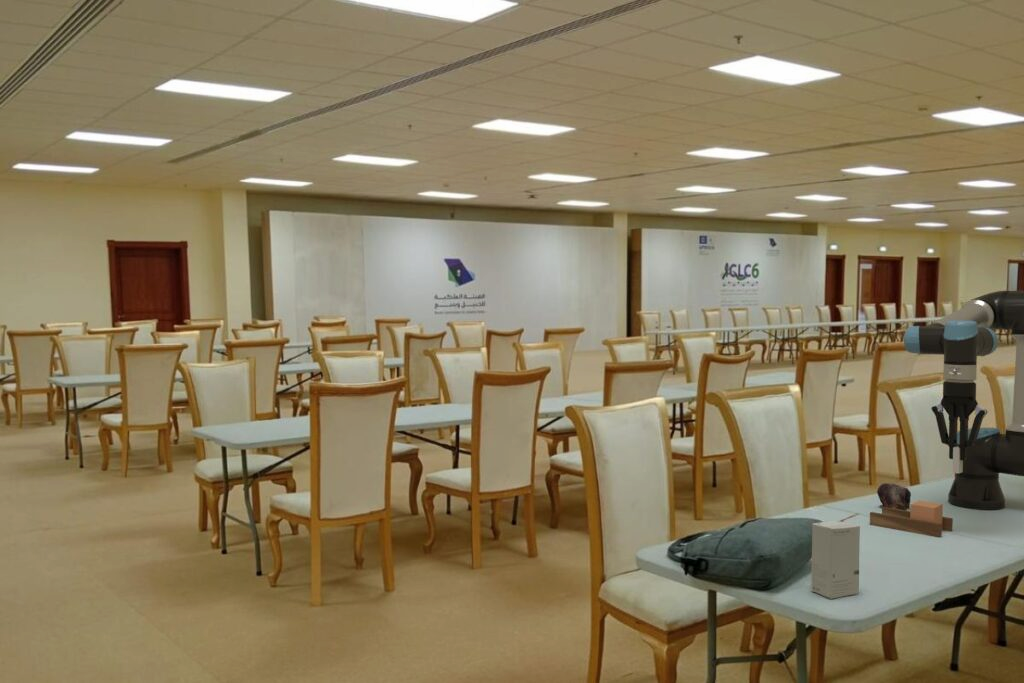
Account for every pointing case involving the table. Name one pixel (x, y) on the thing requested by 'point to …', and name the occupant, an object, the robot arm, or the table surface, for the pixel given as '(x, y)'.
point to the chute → (908, 522)
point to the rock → (894, 496)
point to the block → (926, 511)
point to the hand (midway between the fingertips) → (957, 472)
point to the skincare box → (835, 559)
